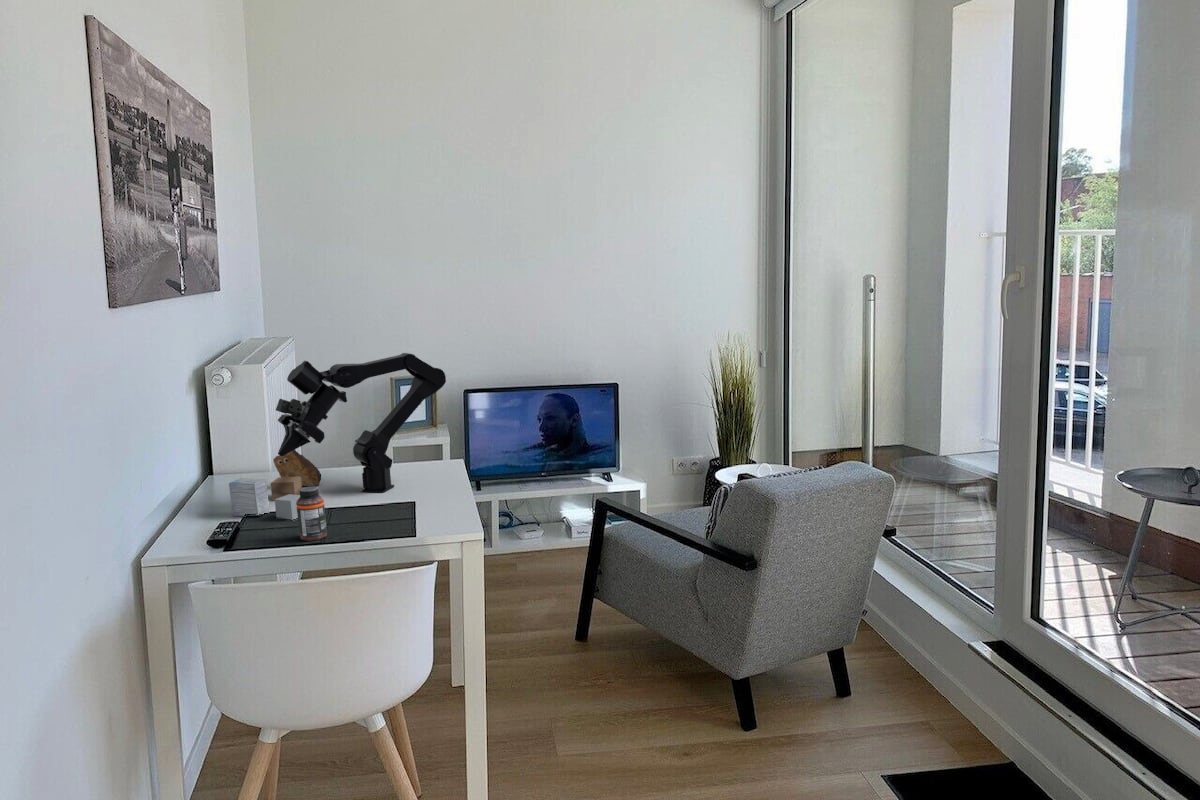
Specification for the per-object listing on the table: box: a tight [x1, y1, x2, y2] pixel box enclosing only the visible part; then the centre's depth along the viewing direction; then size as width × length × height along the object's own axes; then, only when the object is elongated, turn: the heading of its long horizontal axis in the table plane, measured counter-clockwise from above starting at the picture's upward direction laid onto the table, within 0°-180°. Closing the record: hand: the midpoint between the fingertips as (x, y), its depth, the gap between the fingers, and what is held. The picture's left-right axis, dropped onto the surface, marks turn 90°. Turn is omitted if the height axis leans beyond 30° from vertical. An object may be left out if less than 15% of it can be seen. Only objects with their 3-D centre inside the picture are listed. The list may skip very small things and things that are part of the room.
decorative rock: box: [272, 449, 322, 487], centre depth 269 cm, size 12×6×11 cm, turn 95°
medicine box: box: [228, 477, 271, 517], centre depth 241 cm, size 8×4×9 cm, turn 71°
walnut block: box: [270, 476, 303, 502], centre depth 257 cm, size 6×6×5 cm
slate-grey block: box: [274, 494, 300, 521], centre depth 237 cm, size 5×5×5 cm
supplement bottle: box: [296, 486, 328, 542], centre depth 219 cm, size 6×6×11 cm
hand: (279, 455), depth 245 cm, fingers closed
